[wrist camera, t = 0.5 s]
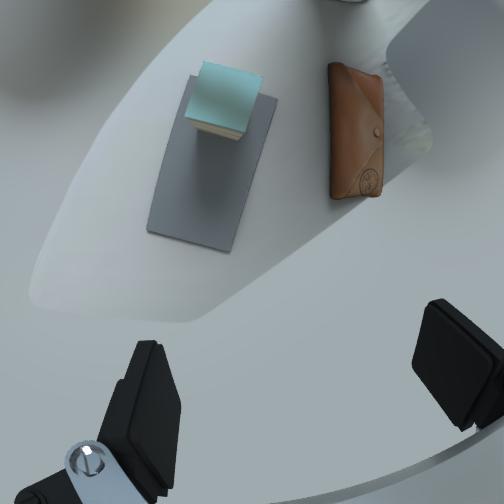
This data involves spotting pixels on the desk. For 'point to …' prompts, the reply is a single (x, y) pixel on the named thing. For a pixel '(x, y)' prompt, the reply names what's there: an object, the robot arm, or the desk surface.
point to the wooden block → (222, 100)
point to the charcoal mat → (207, 177)
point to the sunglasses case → (356, 132)
